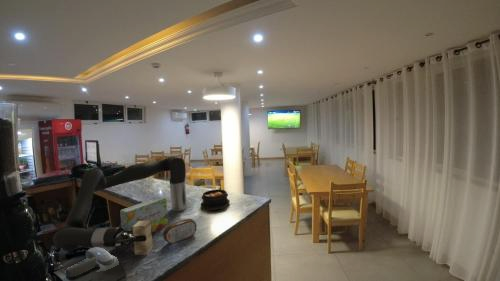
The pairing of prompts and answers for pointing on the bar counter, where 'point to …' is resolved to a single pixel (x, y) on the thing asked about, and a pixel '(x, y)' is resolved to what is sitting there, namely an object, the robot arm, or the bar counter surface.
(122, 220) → the snack box
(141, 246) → the beech block
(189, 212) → the bar counter surface
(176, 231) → the tin
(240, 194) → the bar counter surface
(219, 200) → the casserole
